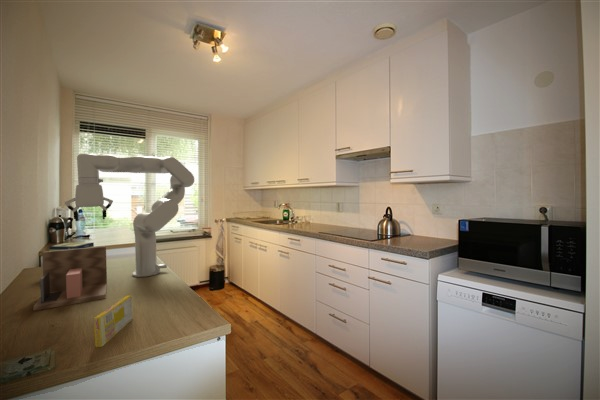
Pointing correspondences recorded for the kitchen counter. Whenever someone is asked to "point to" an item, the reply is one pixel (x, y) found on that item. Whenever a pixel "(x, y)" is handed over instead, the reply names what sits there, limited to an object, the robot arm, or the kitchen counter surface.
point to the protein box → (70, 246)
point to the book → (74, 283)
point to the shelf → (69, 259)
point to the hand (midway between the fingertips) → (90, 219)
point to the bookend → (47, 290)
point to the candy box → (112, 320)
